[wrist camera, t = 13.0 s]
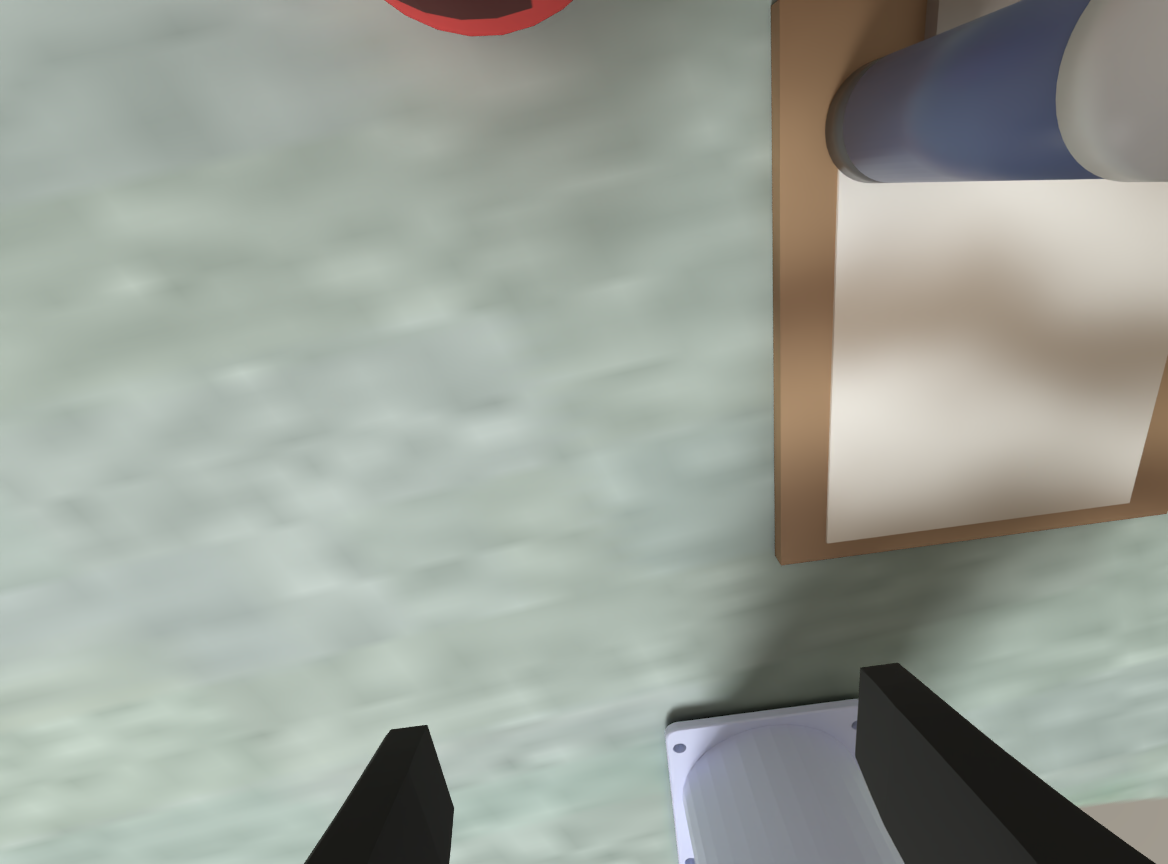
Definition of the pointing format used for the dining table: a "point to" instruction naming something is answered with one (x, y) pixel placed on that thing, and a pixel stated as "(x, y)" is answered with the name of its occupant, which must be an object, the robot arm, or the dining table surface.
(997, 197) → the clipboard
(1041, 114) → the blue cylindrical bottle
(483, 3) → the canned food
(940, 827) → the robot arm
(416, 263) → the dining table surface
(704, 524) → the dining table surface
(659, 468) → the dining table surface
